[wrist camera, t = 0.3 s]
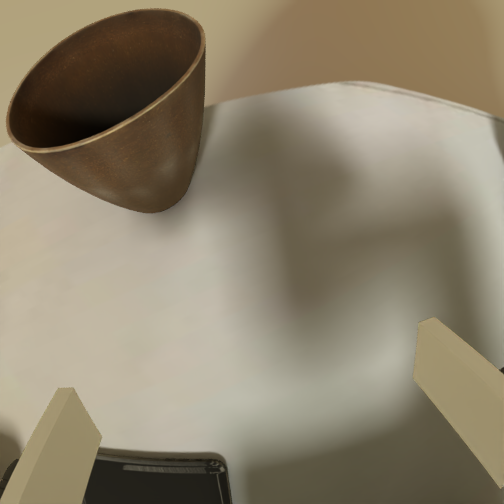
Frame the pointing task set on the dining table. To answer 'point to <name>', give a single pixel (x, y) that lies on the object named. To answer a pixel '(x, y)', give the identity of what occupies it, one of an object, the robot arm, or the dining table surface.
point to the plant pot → (118, 108)
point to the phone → (156, 481)
